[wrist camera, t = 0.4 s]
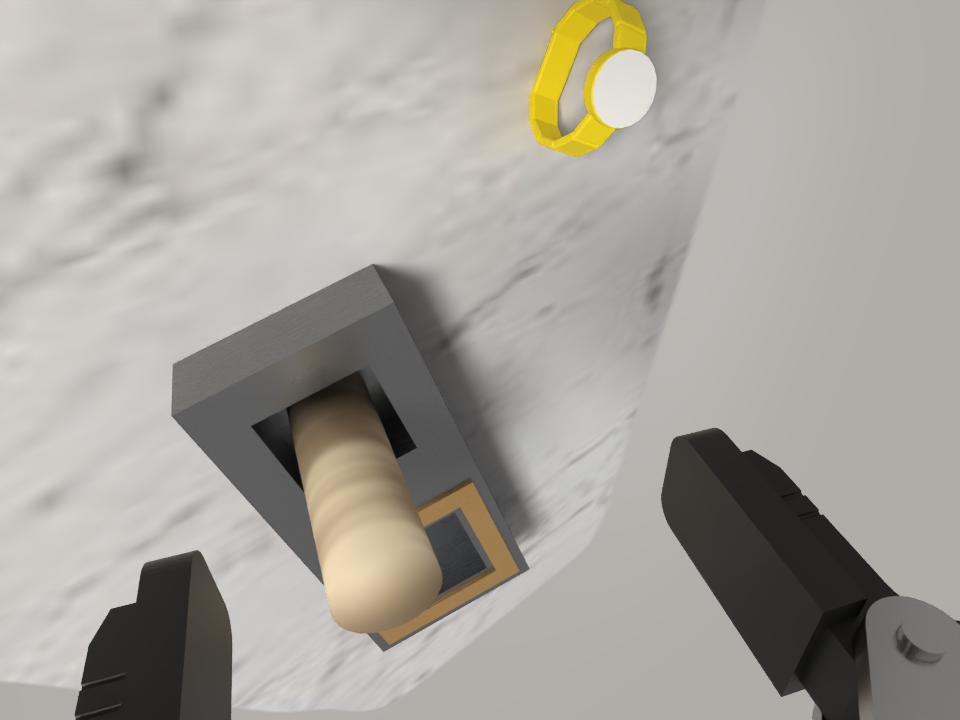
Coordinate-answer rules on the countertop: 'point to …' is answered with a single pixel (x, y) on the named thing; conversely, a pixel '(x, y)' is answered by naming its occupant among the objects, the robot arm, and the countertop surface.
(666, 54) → the countertop surface
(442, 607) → the base plate
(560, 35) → the watch
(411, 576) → the peg
